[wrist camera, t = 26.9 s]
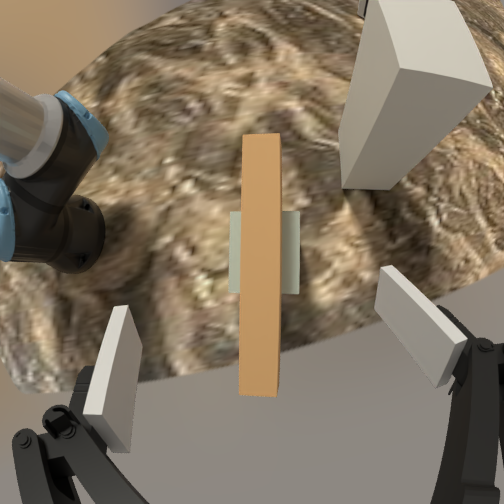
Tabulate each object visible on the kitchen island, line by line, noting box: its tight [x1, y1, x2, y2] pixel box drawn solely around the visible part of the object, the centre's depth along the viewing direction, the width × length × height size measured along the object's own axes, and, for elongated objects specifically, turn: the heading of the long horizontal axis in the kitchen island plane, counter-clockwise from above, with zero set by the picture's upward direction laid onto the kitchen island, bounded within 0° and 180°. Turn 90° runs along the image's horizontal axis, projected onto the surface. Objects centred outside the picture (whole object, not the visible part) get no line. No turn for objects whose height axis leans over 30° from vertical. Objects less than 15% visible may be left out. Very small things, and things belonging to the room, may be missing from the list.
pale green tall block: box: [229, 211, 300, 294], centre depth 38 cm, size 6×7×22 cm
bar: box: [239, 133, 282, 397], centre depth 25 cm, size 3×21×3 cm, turn 179°
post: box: [338, 0, 493, 190], centre depth 32 cm, size 8×10×32 cm
